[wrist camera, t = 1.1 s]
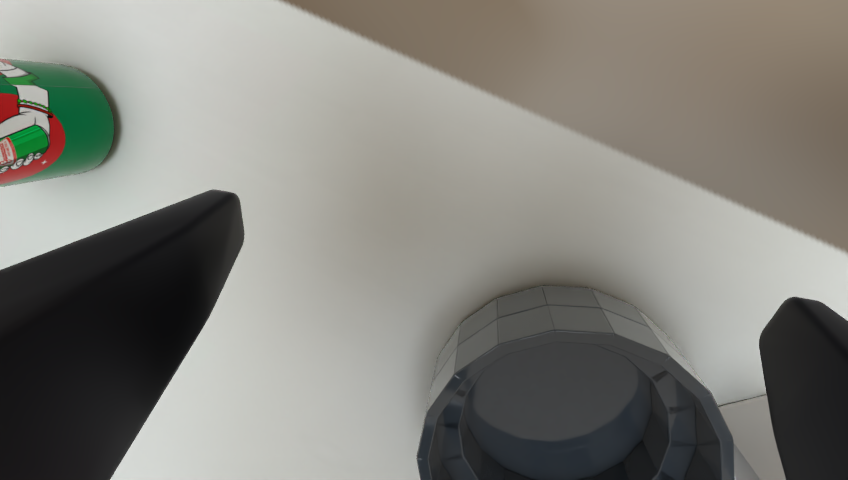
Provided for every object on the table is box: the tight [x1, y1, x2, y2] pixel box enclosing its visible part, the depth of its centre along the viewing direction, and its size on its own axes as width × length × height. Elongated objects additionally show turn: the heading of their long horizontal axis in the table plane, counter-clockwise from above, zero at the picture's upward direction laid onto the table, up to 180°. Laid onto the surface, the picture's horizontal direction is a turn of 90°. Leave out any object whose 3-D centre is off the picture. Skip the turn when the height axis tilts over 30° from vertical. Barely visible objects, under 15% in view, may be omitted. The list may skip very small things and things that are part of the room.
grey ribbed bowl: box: [417, 285, 735, 480], centre depth 23 cm, size 12×12×6 cm
